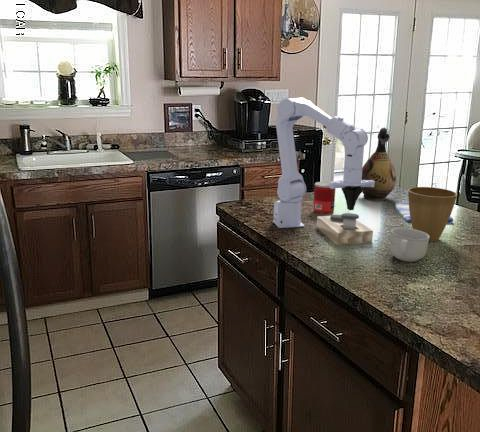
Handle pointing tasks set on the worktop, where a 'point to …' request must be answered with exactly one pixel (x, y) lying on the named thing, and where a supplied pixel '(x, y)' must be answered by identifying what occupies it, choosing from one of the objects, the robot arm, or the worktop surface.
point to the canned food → (323, 198)
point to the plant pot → (430, 209)
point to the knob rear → (337, 218)
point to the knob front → (349, 221)
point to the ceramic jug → (379, 171)
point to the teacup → (408, 244)
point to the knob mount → (344, 231)
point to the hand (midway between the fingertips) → (350, 209)
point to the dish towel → (405, 213)
